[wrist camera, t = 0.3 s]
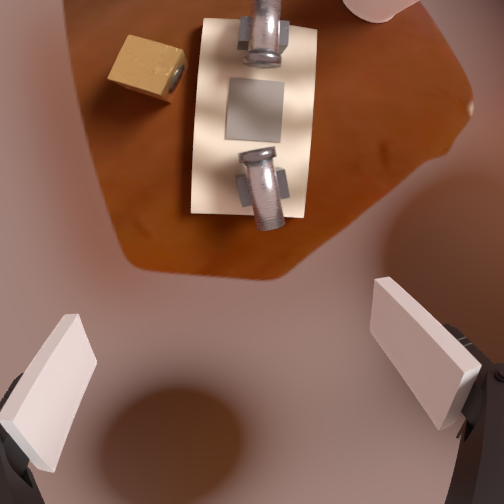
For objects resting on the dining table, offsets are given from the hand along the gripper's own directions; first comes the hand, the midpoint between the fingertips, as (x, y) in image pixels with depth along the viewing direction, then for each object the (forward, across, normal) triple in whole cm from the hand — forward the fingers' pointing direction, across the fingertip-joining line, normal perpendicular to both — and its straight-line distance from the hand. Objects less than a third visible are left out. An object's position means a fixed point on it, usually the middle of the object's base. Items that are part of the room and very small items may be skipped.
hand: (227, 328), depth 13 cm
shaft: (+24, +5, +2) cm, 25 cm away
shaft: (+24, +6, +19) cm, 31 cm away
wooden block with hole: (+26, -6, +16) cm, 32 cm away
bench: (+26, +5, +10) cm, 29 cm away
